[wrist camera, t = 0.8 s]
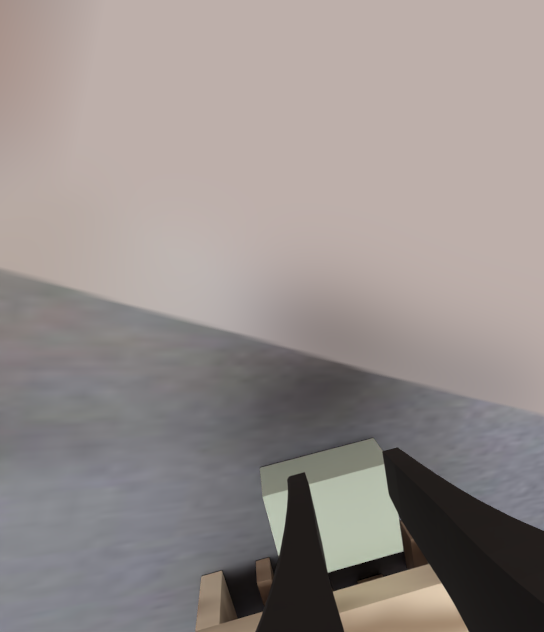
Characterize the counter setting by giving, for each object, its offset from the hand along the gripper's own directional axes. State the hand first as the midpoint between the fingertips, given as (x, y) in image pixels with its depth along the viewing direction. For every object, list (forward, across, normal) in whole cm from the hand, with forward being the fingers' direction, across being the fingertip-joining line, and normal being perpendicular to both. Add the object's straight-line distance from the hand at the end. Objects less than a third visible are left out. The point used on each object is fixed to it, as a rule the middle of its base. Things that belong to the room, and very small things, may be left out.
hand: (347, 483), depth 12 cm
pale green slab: (+8, 0, +8) cm, 12 cm away
